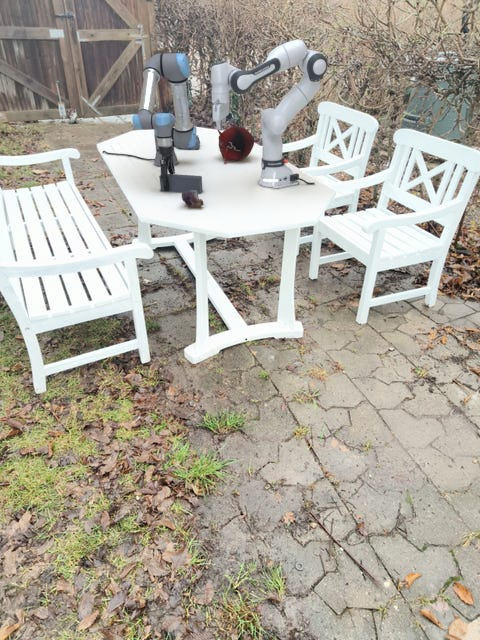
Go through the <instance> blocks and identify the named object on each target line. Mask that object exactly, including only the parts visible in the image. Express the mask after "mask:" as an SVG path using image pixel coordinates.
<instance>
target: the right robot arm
mask: <svg viewBox="0 0 480 640" xmlns="http://www.w3.org/2000/svg"><path fill="white" fill-rule="evenodd" d="M295 66H297V68H298V70H299V71H301V73H303V74H302V77H301V78H300V80H299V81H298V82H297V83H296V84H295V85H294V86H293V87H292V88H290V90H289V91H288V92H287V93H285V95H284V96H282V98H281V101H279V103H278V105H277V106H276V107H275V108H274V107H268V108H266V109H264V110H263V111H262V112H261V114H260V127H261V128H260V130H261V140H262V152H261V154H262V155H261V156H262V157H261V160H260V161H261V162H260V167H261V172H260V178H259V182H258V184H259V185H260V186H262V187H266V188H273V189H280V188H287V187H291V186H292V187H293V186H297V185H299V181H302V182H303V183H305V184H307V185H316V183H315V182H310V181H306V180H305V179H303V178H300V173H298V172H297V173H294V171H293V170H292V169H291V168H290V167H288V166H287V165H286V164H288V163H289V160H288V159H286V158H283V145H284V143H283V137H282V135H283V133H284V132H285V131H286V130H287V127H288V126H290V124H291V122H292V121H293V119H294V118H295V117H296V116H297V114H299V112H301V110H303V109H304V108H305V107H306V106H307V105H308V104H309V103H310V102H311V101H312V100H313V99H314V98H315V97H316V96H317V94H318V93H319V91H320V90H321V88H322V83H321V80H323V77H324V75H325V74H326V73H327V70H328V68H329V61H328V59H327V57H326V56H325V55H324V54H323V53H321V52H319V51H317V50H314V49H311V48H307V45H306V43H305V42H304V40H302V39H300V38H297V39H294V40H290V41H287V42H284V43H282V44H280V45H278V46H276V47H275V48H273V49H271V51H269V52H268V54H267V58H266V60H265V61H264V62H262V63H260V64H258V65H257V66H255V67H253V68H251V69H249V70H243V69H241V68H238V67H235V66H234V65H232V64H230V63H228V61H226V60H220V61H216V62H215V63H213V64H212V66H211V68H210V84H211V91H210V92H211V103H213V105H212V122H215V124H216V125H215V126H216V130H217V131H218V130H220V131H221V130H222V127H225V126H226V121H227V116H229V114H230V101H231V95H230V90H232V91H233V92H234V93H235V94H237V95H244V94H247V93H248V92H250V90H251V89H252V88H253V86H255V85H256V84H257V83H259V82H261V81H262V80H265V79H266V78H268V77H271V76H272V75H275V74H280V73H282V72H284V71H287V70H289V69H291V68H293V67H295Z"/></svg>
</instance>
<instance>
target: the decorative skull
mask: <svg viewBox="0 0 480 640" xmlns="http://www.w3.org/2000/svg"><path fill="white" fill-rule="evenodd" d="M217 133H218V150H219V152H220V154H221V156H222V159H223V160H224V162H223V163H224V165H225V164H226V163H227V161H232V162H238V161H242V160H244V159H246V158H248V157H249V155H251V152H252V151H253V148H254V146H255V138H254V136H253V135H252V133H251V132H249V130H247V129H246V128H245V127H243V126H238V125H237V126H236V125H235V126H231V127H229V128H226V129H225V130H223V131H221V129H220V130H217Z"/></svg>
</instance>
